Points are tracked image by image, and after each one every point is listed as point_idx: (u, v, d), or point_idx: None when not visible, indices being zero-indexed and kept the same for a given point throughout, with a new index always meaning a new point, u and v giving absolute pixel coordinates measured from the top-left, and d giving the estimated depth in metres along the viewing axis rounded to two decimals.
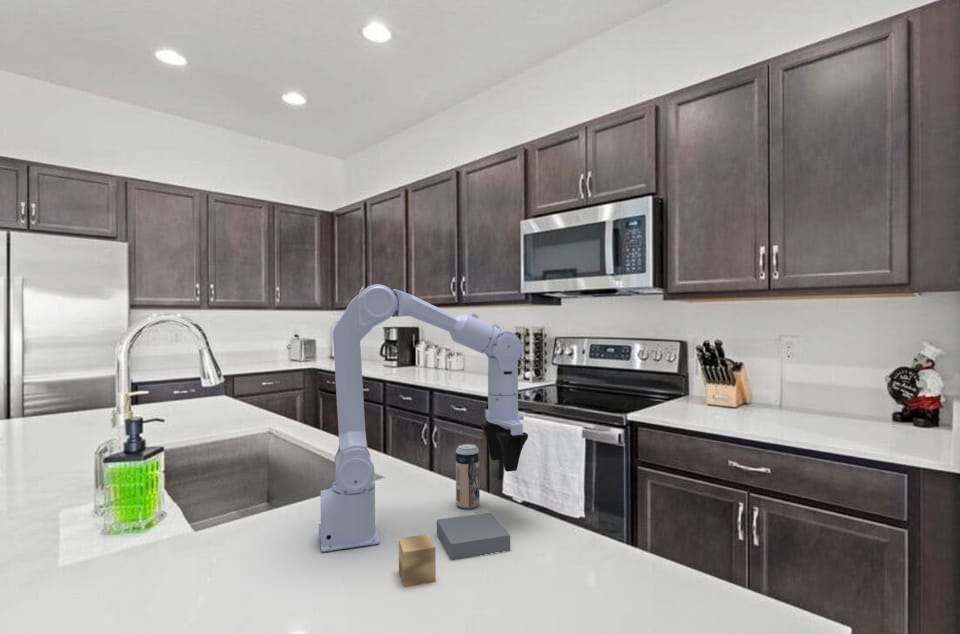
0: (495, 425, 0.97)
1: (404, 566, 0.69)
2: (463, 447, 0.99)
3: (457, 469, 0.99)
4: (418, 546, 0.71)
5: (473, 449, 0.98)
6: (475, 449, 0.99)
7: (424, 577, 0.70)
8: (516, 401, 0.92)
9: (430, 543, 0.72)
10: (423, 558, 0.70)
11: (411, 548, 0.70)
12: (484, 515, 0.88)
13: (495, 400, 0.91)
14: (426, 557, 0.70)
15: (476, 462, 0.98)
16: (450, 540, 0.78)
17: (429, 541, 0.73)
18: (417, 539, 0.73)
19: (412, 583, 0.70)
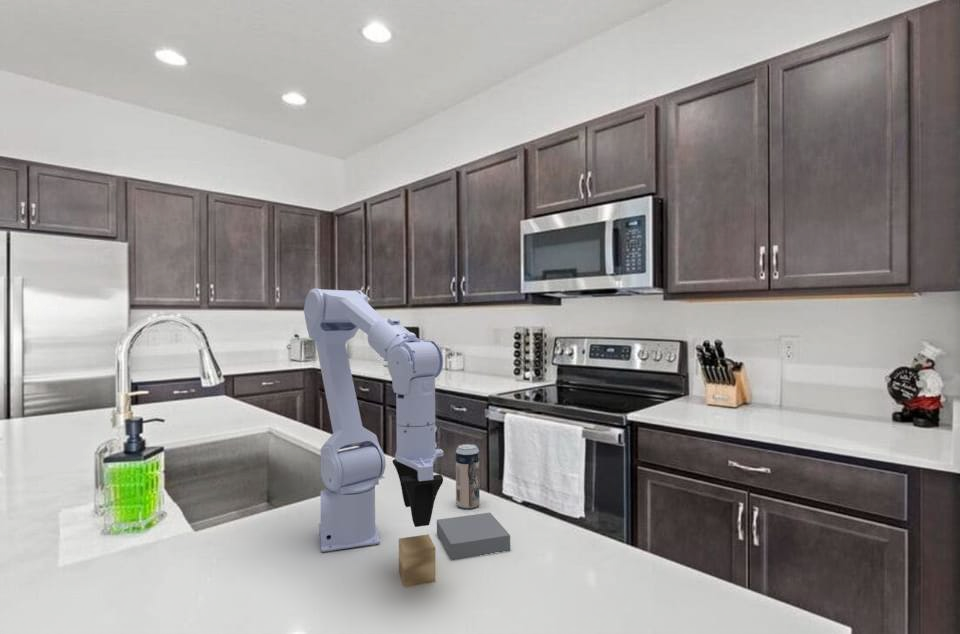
0: None
1: (404, 566, 0.69)
2: (463, 447, 0.99)
3: (457, 469, 0.99)
4: (418, 546, 0.71)
5: (473, 449, 0.98)
6: (475, 449, 0.99)
7: (424, 577, 0.70)
8: (431, 433, 0.71)
9: (430, 543, 0.72)
10: (423, 558, 0.70)
11: (411, 548, 0.70)
12: (484, 515, 0.88)
13: (403, 432, 0.70)
14: (426, 557, 0.70)
15: (476, 462, 0.98)
16: (450, 540, 0.78)
17: (429, 541, 0.73)
18: (417, 539, 0.73)
19: (412, 583, 0.70)
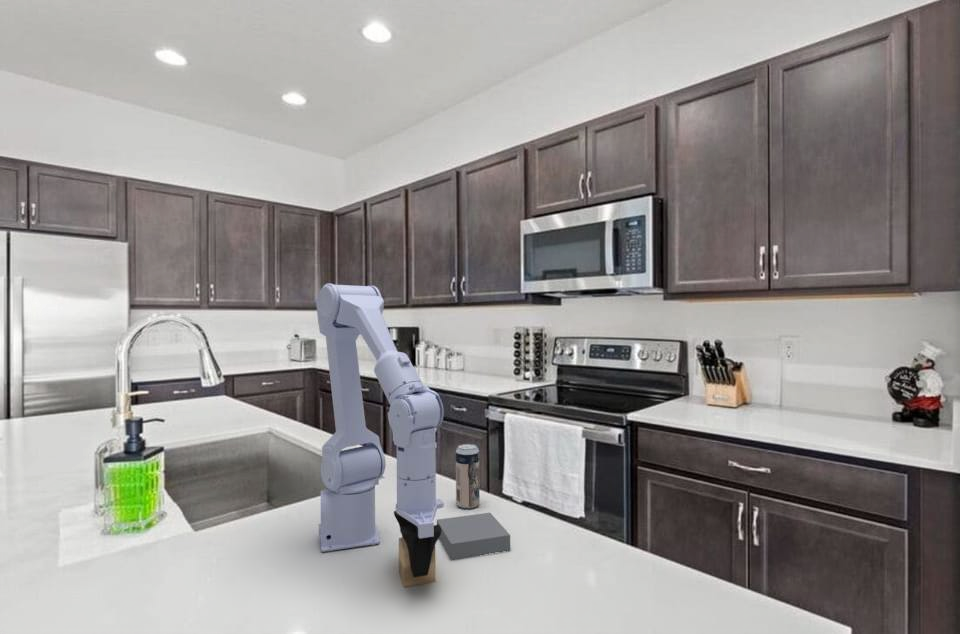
0: None
1: (404, 565, 0.69)
2: (463, 447, 0.99)
3: (457, 469, 0.99)
4: None
5: (473, 449, 0.98)
6: (475, 449, 0.99)
7: (424, 576, 0.70)
8: (432, 486, 0.71)
9: None
10: None
11: None
12: (484, 515, 0.88)
13: (403, 485, 0.70)
14: None
15: (476, 462, 0.98)
16: (450, 540, 0.78)
17: None
18: None
19: (412, 582, 0.70)
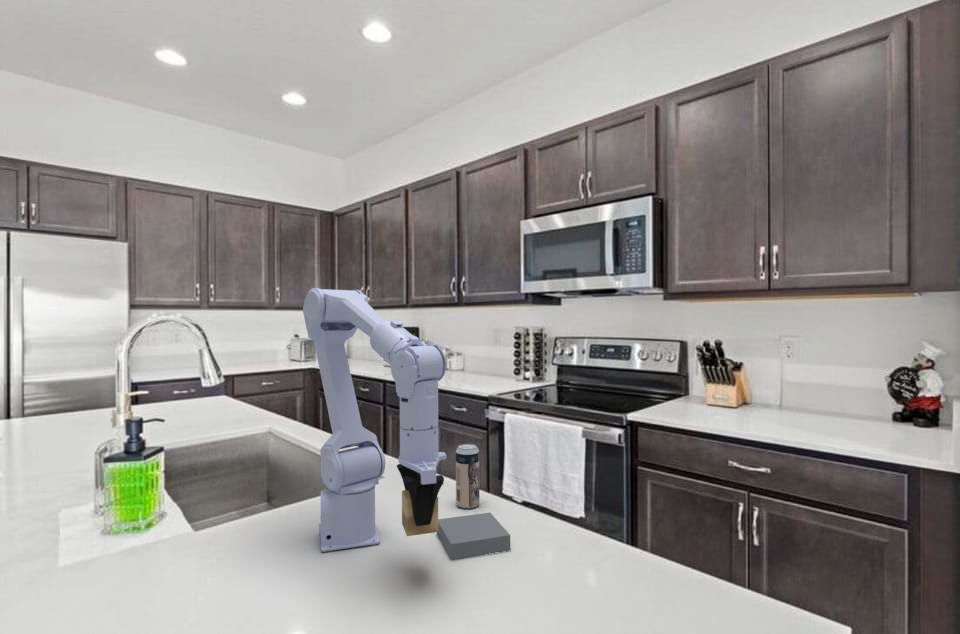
0: None
1: (407, 515, 0.70)
2: (463, 447, 0.99)
3: (457, 469, 0.99)
4: None
5: (473, 449, 0.98)
6: (475, 449, 0.99)
7: (427, 527, 0.71)
8: (434, 436, 0.72)
9: None
10: None
11: None
12: (484, 515, 0.88)
13: (406, 436, 0.71)
14: None
15: (476, 462, 0.98)
16: (450, 540, 0.78)
17: None
18: None
19: (415, 532, 0.70)
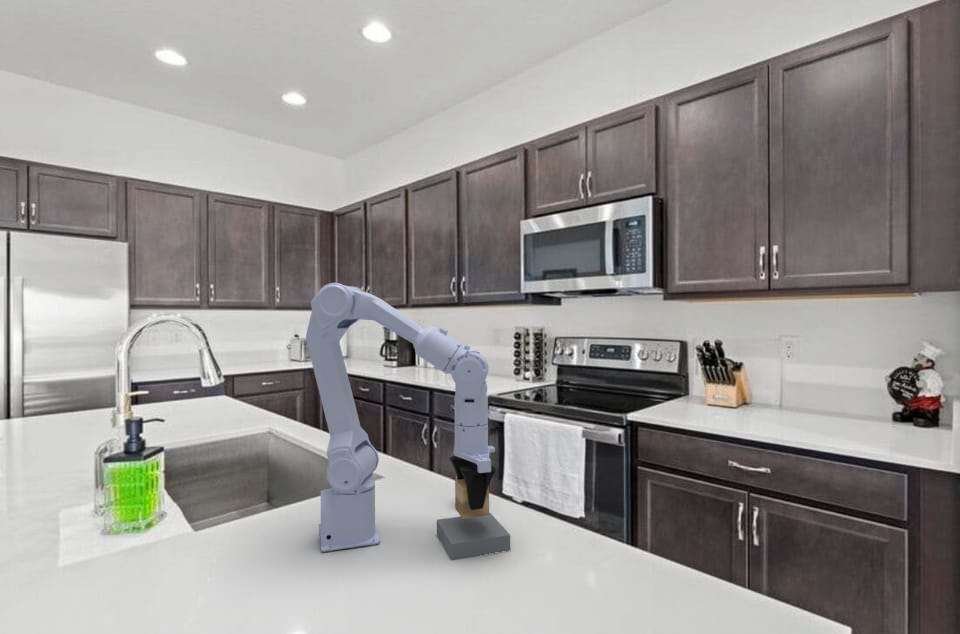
0: None
1: (463, 500, 0.81)
2: None
3: None
4: None
5: None
6: None
7: (480, 510, 0.81)
8: (486, 432, 0.82)
9: None
10: None
11: None
12: None
13: (461, 431, 0.81)
14: None
15: None
16: (450, 540, 0.78)
17: None
18: None
19: (470, 515, 0.81)
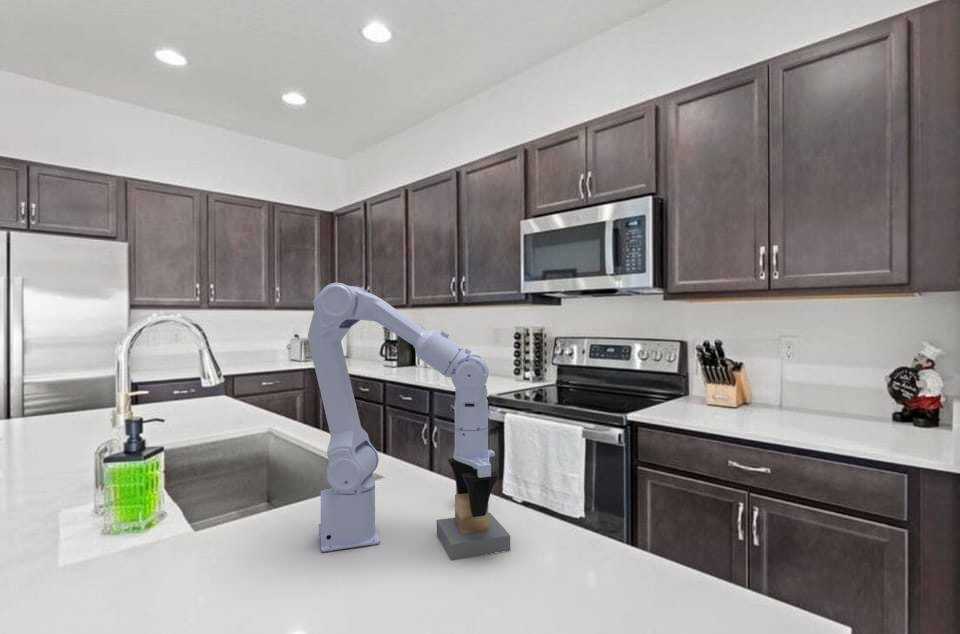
0: None
1: (462, 516, 0.81)
2: None
3: None
4: None
5: None
6: None
7: (479, 526, 0.81)
8: (486, 436, 0.82)
9: None
10: None
11: (468, 501, 0.82)
12: None
13: (461, 435, 0.81)
14: None
15: None
16: (450, 540, 0.78)
17: None
18: None
19: (469, 531, 0.81)
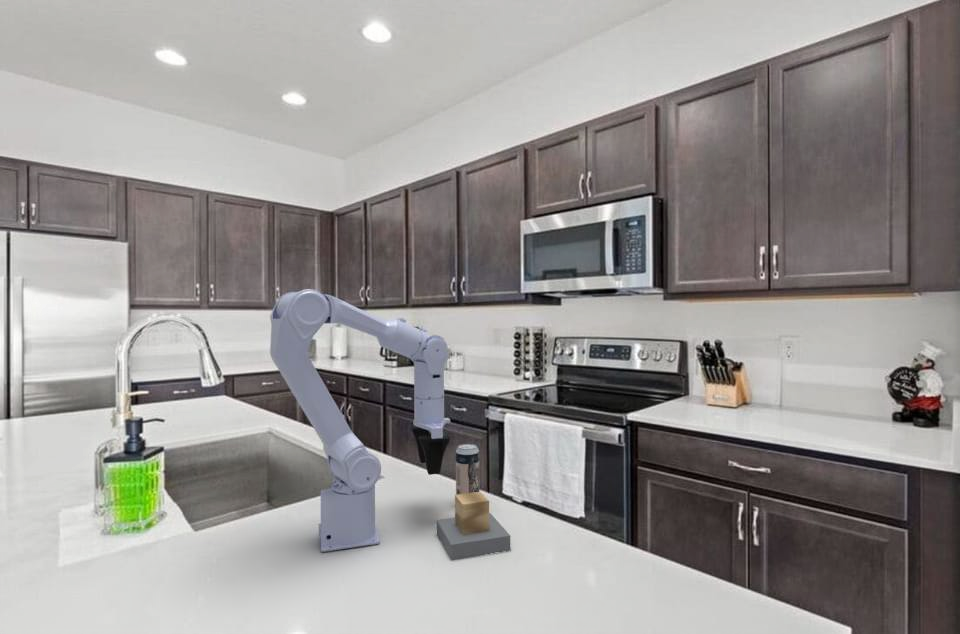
0: (424, 428, 0.98)
1: (463, 516, 0.81)
2: (463, 447, 0.99)
3: (457, 469, 0.99)
4: (474, 500, 0.82)
5: (473, 449, 0.98)
6: (475, 449, 0.99)
7: (480, 526, 0.81)
8: (441, 404, 0.93)
9: (484, 497, 0.83)
10: (479, 510, 0.81)
11: (469, 501, 0.81)
12: None
13: (419, 403, 0.92)
14: (481, 508, 0.82)
15: (476, 462, 0.98)
16: (450, 541, 0.78)
17: (482, 496, 0.84)
18: (471, 495, 0.84)
19: (470, 531, 0.81)
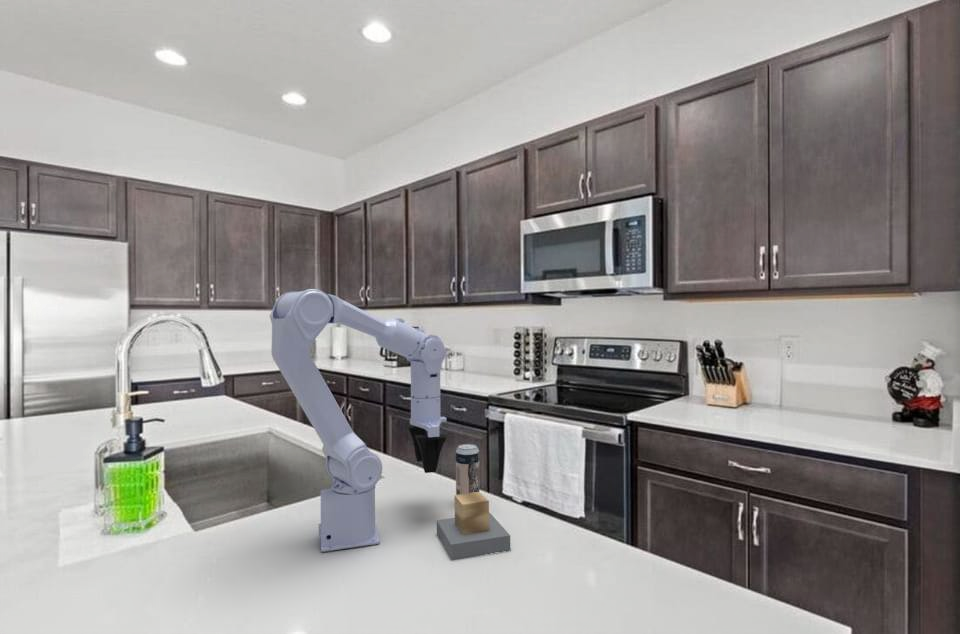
0: None
1: (463, 516, 0.80)
2: (463, 447, 0.99)
3: (457, 469, 0.99)
4: (473, 500, 0.82)
5: (473, 449, 0.98)
6: (475, 449, 0.99)
7: (480, 526, 0.81)
8: (437, 404, 0.94)
9: (483, 497, 0.83)
10: (479, 510, 0.81)
11: (468, 502, 0.81)
12: None
13: (416, 403, 0.93)
14: (481, 508, 0.81)
15: (476, 462, 0.98)
16: (450, 540, 0.78)
17: (482, 496, 0.84)
18: (470, 495, 0.84)
19: (470, 531, 0.81)
